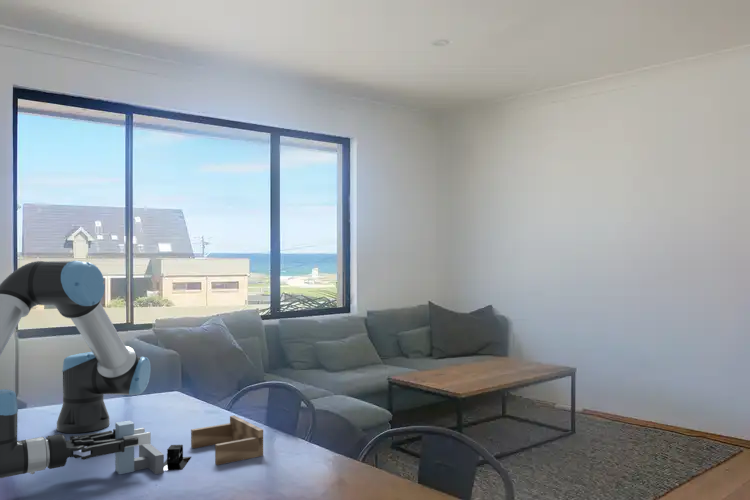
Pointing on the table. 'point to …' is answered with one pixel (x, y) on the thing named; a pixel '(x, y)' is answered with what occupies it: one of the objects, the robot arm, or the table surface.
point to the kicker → (147, 453)
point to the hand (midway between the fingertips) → (146, 435)
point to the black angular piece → (175, 458)
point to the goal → (230, 440)
